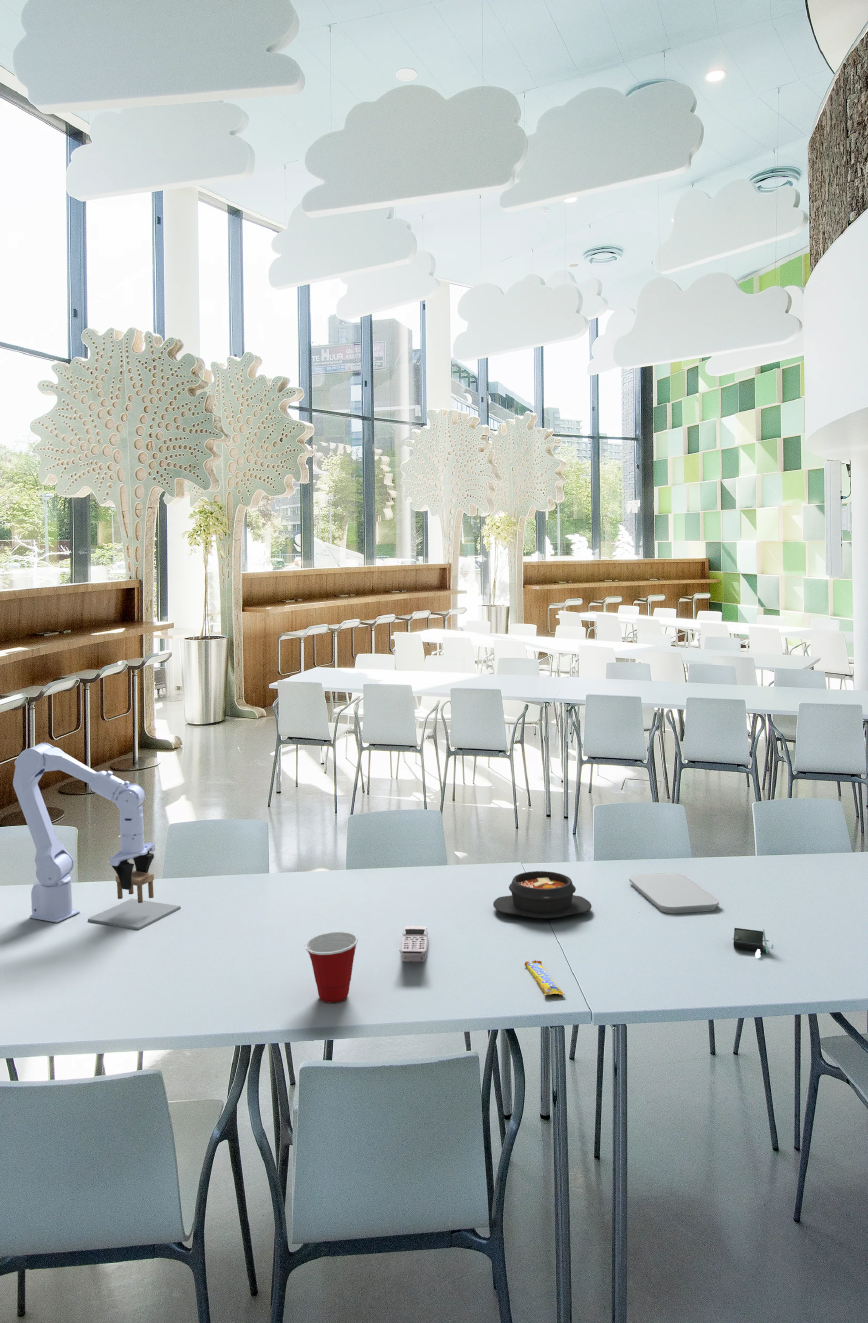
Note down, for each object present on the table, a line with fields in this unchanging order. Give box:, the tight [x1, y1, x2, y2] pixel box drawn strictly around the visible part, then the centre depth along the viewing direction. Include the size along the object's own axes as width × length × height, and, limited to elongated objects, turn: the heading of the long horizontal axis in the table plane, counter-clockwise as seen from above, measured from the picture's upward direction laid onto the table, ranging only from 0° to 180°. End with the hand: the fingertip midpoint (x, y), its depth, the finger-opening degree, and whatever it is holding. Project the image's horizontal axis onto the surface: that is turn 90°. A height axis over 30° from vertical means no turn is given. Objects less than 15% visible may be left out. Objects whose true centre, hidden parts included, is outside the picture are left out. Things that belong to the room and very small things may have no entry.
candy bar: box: [524, 960, 566, 996], centre depth 194 cm, size 17×4×2 cm, turn 10°
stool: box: [115, 870, 155, 903], centre depth 235 cm, size 5×8×6 cm, turn 64°
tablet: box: [628, 872, 720, 914], centre depth 246 cm, size 16×26×2 cm, turn 9°
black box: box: [733, 927, 774, 959], centre depth 211 cm, size 15×15×6 cm
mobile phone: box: [398, 925, 429, 963], centre depth 209 cm, size 6×6×25 cm
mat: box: [87, 898, 181, 931], centre depth 235 cm, size 16×16×1 cm
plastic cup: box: [304, 931, 359, 1004], centre depth 187 cm, size 11×11×12 cm
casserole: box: [492, 870, 593, 920], centre depth 235 cm, size 25×19×8 cm
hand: (134, 885), depth 235 cm, fingers closed on stool, 5 cm apart
